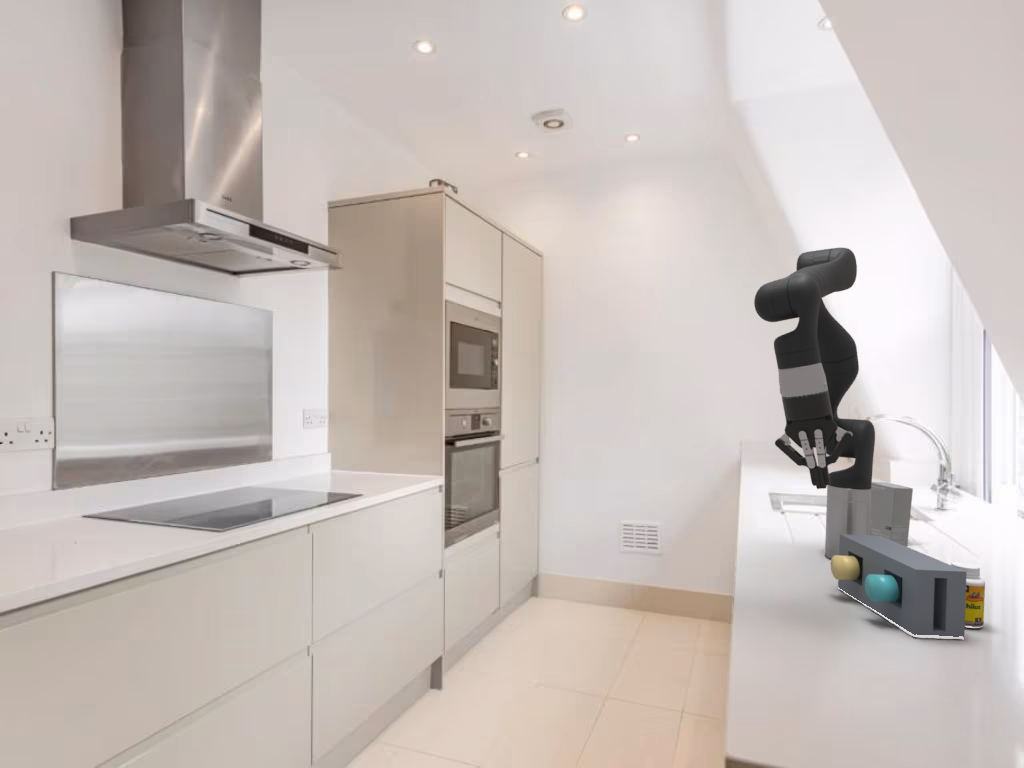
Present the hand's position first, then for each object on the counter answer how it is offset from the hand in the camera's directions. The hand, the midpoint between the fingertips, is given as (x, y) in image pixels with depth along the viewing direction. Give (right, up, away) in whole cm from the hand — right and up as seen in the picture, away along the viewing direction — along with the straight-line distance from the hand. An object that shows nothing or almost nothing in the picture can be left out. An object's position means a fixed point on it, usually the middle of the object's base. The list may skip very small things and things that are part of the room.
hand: (821, 487), depth 109 cm
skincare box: (+45, -24, +56) cm, 76 cm away
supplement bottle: (+23, -23, -3) cm, 33 cm away
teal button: (+8, -19, -4) cm, 21 cm away
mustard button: (+8, -19, +8) cm, 22 cm away
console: (+14, -23, +2) cm, 27 cm away
